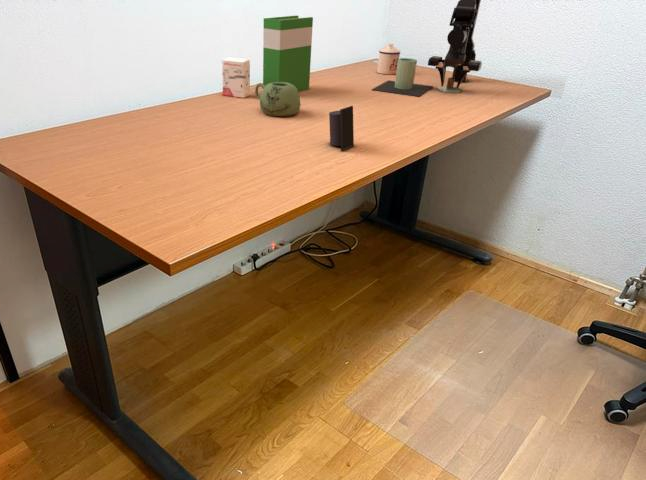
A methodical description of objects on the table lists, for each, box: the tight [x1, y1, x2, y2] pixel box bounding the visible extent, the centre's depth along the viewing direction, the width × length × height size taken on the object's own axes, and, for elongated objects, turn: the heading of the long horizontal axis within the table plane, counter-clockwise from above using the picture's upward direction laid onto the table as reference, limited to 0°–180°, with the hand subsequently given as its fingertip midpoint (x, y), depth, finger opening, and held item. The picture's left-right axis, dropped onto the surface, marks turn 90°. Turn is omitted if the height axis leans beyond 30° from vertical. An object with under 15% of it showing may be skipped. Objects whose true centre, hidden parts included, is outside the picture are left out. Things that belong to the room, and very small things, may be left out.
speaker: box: [328, 105, 355, 152], centre depth 130 cm, size 8×6×10 cm
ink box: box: [221, 56, 251, 99], centre depth 173 cm, size 9×5×12 cm, turn 68°
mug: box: [254, 82, 301, 117], centre depth 156 cm, size 16×13×9 cm
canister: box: [394, 57, 418, 90], centre depth 191 cm, size 7×7×10 cm
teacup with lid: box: [376, 43, 401, 76], centre depth 217 cm, size 12×9×12 cm
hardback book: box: [262, 15, 314, 92], centre depth 178 cm, size 18×7×24 cm, turn 140°
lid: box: [437, 77, 462, 94], centre depth 192 cm, size 9×9×4 cm
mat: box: [371, 80, 433, 98], centre depth 193 cm, size 20×18×1 cm
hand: (449, 87), depth 192 cm, fingers open, 5 cm apart
